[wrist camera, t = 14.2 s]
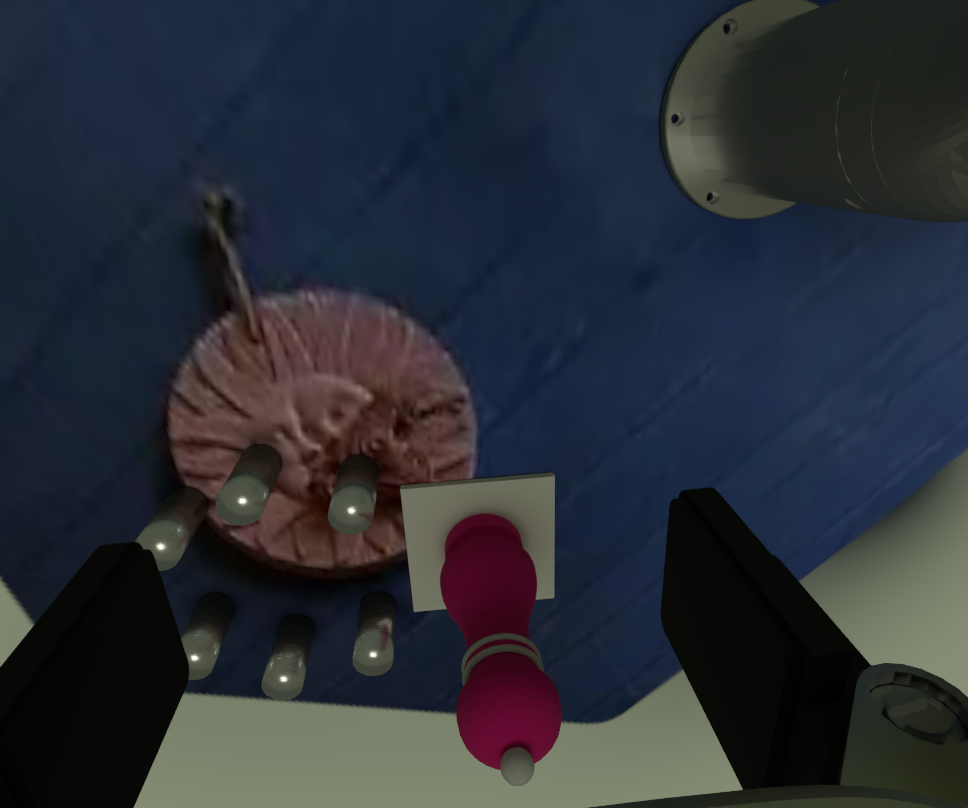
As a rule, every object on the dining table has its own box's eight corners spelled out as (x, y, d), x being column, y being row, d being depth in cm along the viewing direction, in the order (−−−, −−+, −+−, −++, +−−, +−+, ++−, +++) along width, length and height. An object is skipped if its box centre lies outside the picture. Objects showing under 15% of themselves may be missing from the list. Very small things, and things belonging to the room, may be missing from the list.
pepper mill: (483, 595, 51) (518, 845, 33) (419, 549, 49) (419, 792, 30) (545, 541, 50) (617, 772, 31) (482, 491, 47) (521, 710, 29)
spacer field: (374, 435, 45) (368, 475, 40) (399, 631, 53) (396, 687, 47) (152, 452, 44) (113, 496, 39) (210, 650, 52) (185, 711, 46)
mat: (553, 472, 48) (554, 476, 47) (552, 593, 53) (554, 597, 52) (400, 485, 47) (400, 489, 46) (414, 606, 52) (414, 612, 51)
